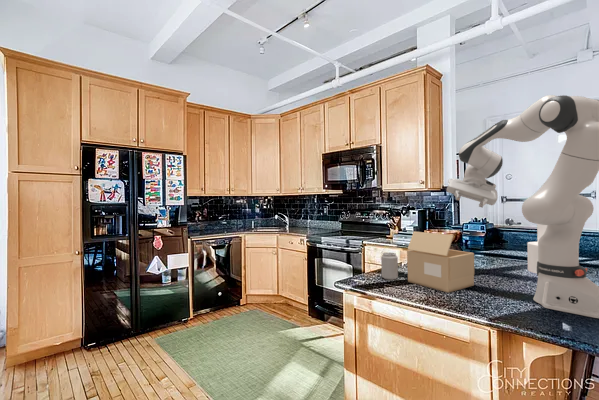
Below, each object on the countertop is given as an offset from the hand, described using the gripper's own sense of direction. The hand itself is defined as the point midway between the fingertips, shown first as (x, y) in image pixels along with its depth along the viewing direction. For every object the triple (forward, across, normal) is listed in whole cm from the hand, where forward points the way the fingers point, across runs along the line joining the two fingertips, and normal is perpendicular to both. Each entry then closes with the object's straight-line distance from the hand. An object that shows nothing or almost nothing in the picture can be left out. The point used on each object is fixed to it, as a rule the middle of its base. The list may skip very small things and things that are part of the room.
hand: (469, 202), depth 135 cm
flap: (+18, -10, +13) cm, 25 cm away
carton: (+24, +1, +29) cm, 38 cm away
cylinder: (-16, +49, +39) cm, 64 cm away
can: (+27, -20, +37) cm, 50 cm away
